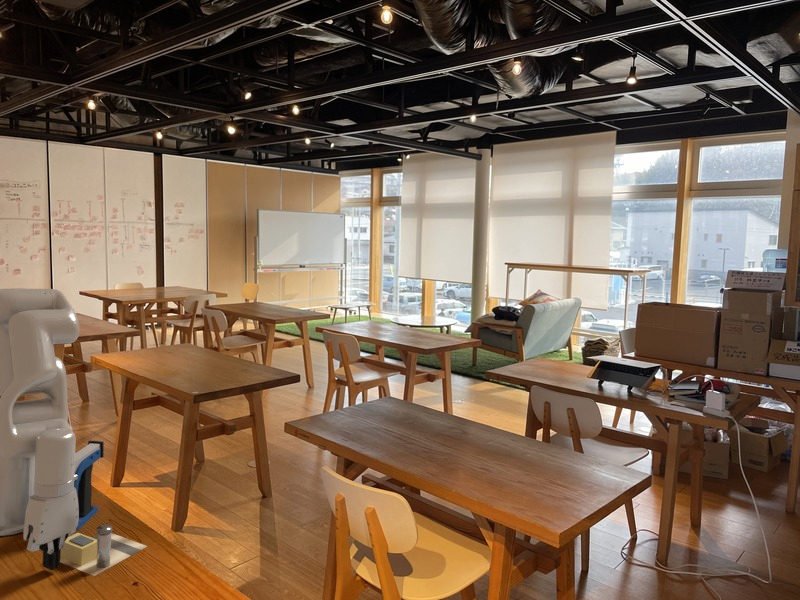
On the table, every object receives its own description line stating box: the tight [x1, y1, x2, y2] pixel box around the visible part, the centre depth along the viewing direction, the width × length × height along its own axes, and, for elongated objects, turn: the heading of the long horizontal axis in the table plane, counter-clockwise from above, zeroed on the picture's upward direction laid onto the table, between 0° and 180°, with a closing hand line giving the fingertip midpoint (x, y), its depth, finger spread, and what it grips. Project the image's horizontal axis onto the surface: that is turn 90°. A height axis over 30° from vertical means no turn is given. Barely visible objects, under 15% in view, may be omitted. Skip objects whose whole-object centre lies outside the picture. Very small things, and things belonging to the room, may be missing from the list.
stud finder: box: [60, 532, 97, 566], centre depth 136 cm, size 7×4×4 cm, turn 67°
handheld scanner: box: [74, 440, 105, 531], centre depth 152 cm, size 5×16×20 cm, turn 2°
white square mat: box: [60, 532, 149, 577], centre depth 139 cm, size 14×15×1 cm
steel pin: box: [96, 524, 113, 568], centre depth 134 cm, size 3×3×9 cm
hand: (51, 566), depth 130 cm, fingers closed
